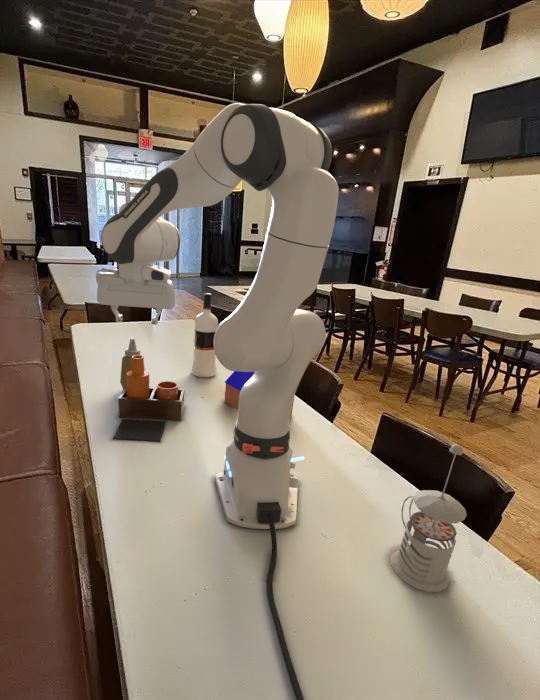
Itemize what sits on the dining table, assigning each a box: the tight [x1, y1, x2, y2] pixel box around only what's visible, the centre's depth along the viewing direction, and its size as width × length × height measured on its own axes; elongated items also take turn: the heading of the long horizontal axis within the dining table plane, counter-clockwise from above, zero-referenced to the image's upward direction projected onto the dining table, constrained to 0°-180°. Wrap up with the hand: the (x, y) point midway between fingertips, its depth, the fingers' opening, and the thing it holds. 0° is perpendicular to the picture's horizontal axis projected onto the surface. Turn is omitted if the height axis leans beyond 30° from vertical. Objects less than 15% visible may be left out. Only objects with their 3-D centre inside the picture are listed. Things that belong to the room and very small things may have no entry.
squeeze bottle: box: [119, 337, 146, 391], centre depth 131 cm, size 8×8×18 cm
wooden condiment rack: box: [118, 386, 186, 422], centre depth 121 cm, size 9×18×6 cm, turn 92°
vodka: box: [191, 292, 219, 378], centre depth 150 cm, size 9×9×30 cm
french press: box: [390, 443, 468, 593], centre depth 69 cm, size 10×12×25 cm
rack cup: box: [156, 380, 179, 400], centre depth 121 cm, size 6×6×9 cm
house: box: [224, 371, 295, 419], centre depth 128 cm, size 12×20×12 cm, turn 38°
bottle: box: [126, 354, 150, 399], centre depth 119 cm, size 6×6×17 cm
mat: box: [112, 418, 166, 443], centre depth 111 cm, size 11×12×1 cm
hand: (137, 322), depth 112 cm, fingers open, 8 cm apart
